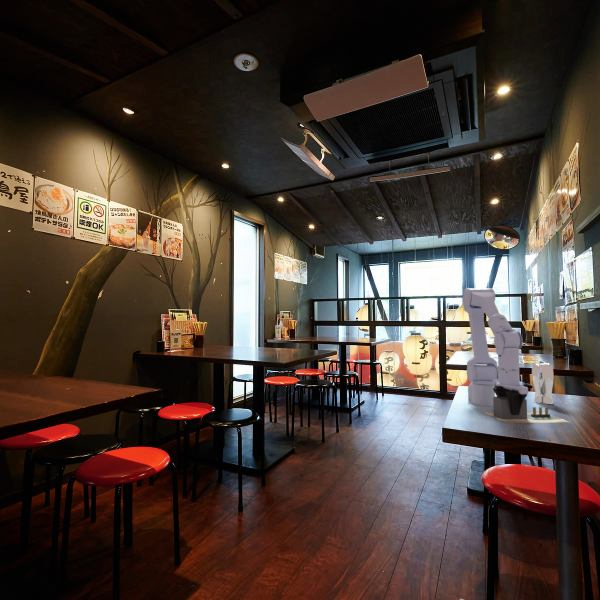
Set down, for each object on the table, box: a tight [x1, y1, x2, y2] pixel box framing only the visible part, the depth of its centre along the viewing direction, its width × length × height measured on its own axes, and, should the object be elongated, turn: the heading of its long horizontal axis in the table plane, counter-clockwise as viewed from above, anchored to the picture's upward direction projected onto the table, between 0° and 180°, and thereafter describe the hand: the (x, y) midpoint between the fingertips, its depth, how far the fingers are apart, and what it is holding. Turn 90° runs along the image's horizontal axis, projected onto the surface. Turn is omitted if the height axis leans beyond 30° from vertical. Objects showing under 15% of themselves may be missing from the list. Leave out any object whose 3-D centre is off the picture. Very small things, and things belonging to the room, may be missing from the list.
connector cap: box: [492, 396, 528, 419], centre depth 112 cm, size 4×8×6 cm, turn 93°
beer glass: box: [531, 362, 555, 405], centre depth 139 cm, size 7×7×15 cm
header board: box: [485, 406, 570, 424], centre depth 112 cm, size 12×20×4 cm, turn 93°
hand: (510, 412), depth 112 cm, fingers closed on connector cap, 4 cm apart
